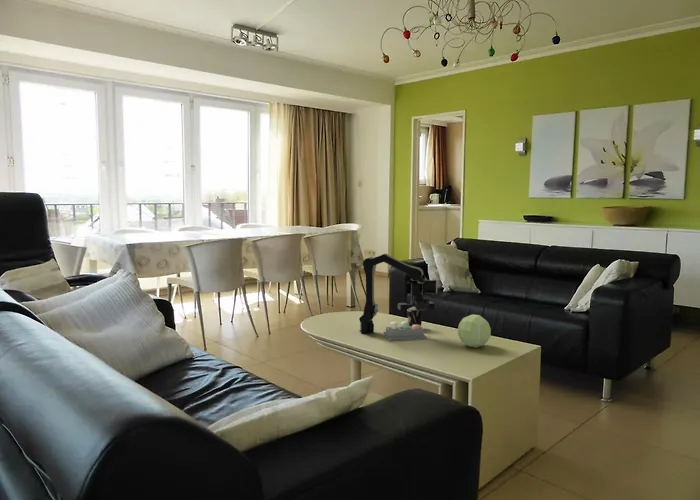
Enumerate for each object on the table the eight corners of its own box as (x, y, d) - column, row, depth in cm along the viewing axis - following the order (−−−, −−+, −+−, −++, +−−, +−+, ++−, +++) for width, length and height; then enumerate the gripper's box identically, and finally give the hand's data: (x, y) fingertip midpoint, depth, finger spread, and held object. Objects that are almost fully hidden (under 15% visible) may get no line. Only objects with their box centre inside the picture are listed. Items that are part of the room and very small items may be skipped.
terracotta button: (413, 334, 265) (413, 326, 265) (411, 332, 269) (411, 324, 269) (421, 333, 266) (421, 326, 266) (418, 331, 270) (418, 324, 270)
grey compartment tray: (390, 340, 259) (390, 332, 258) (383, 334, 271) (383, 325, 271) (426, 339, 262) (426, 330, 262) (418, 332, 275) (418, 324, 274)
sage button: (402, 331, 264) (402, 323, 264) (400, 329, 268) (400, 321, 268) (409, 330, 265) (409, 323, 264) (407, 328, 269) (407, 321, 268)
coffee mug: (423, 330, 279) (424, 311, 278) (407, 330, 280) (407, 311, 279) (421, 325, 291) (421, 307, 290) (405, 324, 291) (405, 307, 290)
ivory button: (390, 331, 263) (390, 324, 263) (388, 329, 267) (388, 322, 267) (398, 331, 264) (398, 323, 263) (396, 329, 268) (396, 321, 267)
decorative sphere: (452, 346, 248) (452, 315, 247) (467, 340, 260) (467, 310, 258) (480, 352, 239) (481, 320, 237) (495, 345, 250) (496, 315, 248)
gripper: (403, 296, 256) (403, 327, 258) (439, 294, 259) (439, 325, 261) (397, 292, 267) (397, 322, 268) (432, 290, 270) (431, 320, 272)
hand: (416, 322), depth 267 cm, fingers closed
